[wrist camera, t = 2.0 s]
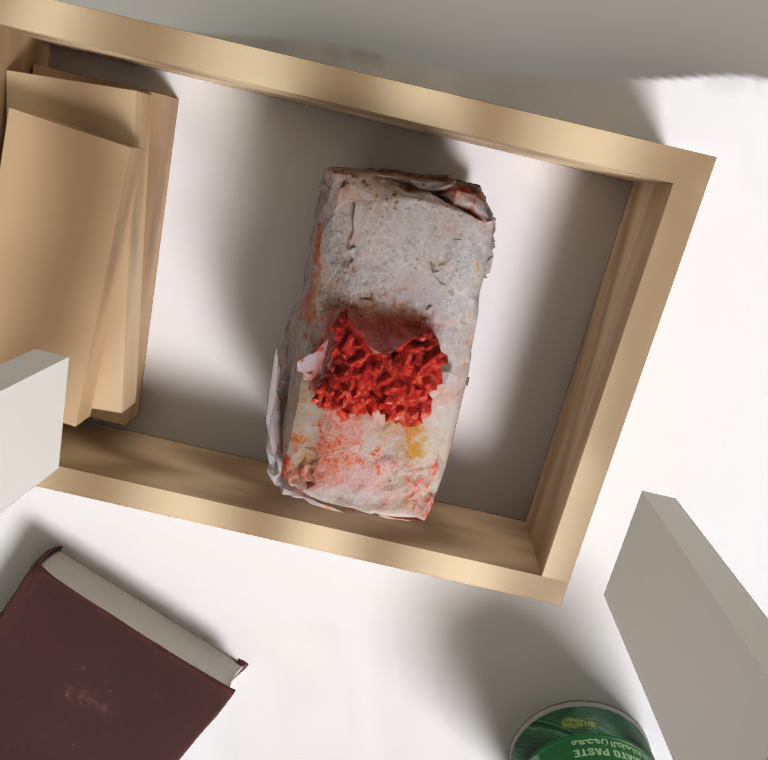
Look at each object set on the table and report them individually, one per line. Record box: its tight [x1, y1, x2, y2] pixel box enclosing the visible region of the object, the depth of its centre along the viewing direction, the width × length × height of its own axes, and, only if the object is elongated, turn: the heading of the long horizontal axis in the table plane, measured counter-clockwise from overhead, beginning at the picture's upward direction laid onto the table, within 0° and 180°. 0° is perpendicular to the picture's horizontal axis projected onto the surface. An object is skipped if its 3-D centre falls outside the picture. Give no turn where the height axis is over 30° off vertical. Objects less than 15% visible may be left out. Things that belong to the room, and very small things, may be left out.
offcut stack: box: [0, 64, 179, 427], centre depth 30 cm, size 6×15×5 cm, turn 167°
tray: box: [0, 0, 717, 605], centre depth 30 cm, size 28×19×5 cm
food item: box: [265, 167, 496, 521], centre depth 28 cm, size 14×8×10 cm, turn 171°
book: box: [0, 546, 248, 760], centre depth 39 cm, size 12×19×3 cm, turn 143°
